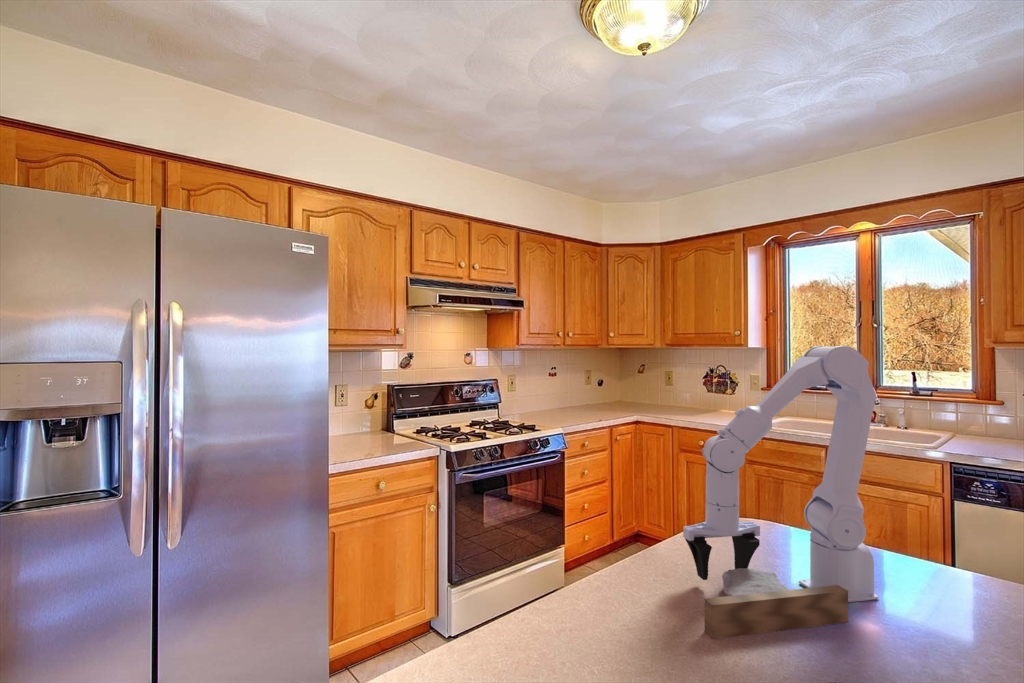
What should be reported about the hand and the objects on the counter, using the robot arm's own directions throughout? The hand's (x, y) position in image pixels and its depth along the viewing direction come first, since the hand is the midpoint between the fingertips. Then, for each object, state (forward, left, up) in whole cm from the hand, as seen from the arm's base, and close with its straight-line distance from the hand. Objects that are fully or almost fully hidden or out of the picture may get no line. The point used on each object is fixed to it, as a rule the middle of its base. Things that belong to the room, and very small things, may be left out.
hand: (721, 575), depth 92 cm
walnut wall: (0, +14, -2) cm, 14 cm away
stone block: (-2, +7, -2) cm, 7 cm away
